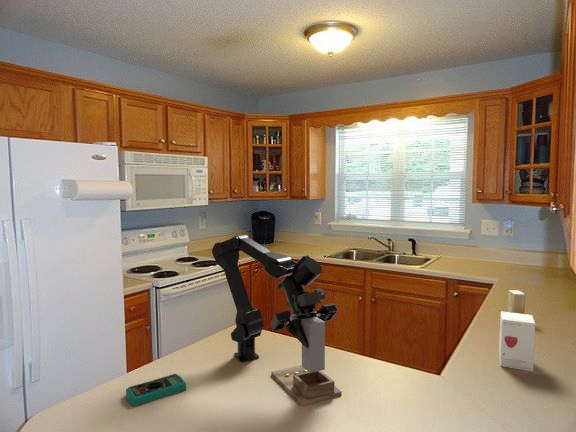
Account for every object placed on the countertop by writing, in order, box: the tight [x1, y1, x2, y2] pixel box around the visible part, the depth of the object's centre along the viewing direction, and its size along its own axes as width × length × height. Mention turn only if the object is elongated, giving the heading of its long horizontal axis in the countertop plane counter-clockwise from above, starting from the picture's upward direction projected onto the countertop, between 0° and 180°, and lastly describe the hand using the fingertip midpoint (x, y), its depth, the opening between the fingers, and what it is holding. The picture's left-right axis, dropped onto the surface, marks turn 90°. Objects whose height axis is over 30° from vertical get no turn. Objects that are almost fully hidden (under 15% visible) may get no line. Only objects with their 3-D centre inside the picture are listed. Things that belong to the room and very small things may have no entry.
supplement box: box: [498, 311, 536, 373], centre depth 125 cm, size 9×9×15 cm
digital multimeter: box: [125, 373, 187, 407], centre depth 109 cm, size 7×15×3 cm, turn 126°
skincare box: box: [507, 289, 527, 314], centre depth 165 cm, size 6×4×12 cm
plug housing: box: [301, 317, 326, 373], centre depth 108 cm, size 4×4×13 cm
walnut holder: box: [270, 364, 343, 407], centre depth 113 cm, size 19×12×4 cm, turn 26°
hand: (315, 345), depth 107 cm, fingers closed on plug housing, 4 cm apart
